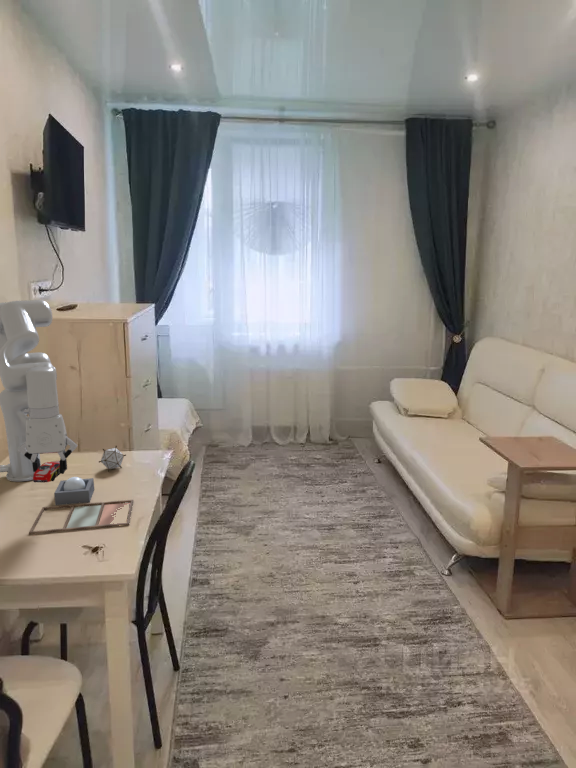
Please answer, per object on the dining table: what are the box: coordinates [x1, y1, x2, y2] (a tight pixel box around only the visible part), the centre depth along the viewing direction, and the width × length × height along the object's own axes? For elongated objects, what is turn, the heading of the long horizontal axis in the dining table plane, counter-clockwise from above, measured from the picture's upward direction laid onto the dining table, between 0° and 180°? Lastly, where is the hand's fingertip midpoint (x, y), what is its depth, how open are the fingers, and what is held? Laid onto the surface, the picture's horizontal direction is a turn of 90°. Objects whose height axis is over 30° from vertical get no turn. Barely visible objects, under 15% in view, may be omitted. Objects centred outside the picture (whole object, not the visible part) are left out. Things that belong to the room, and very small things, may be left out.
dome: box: [64, 476, 85, 491], centre depth 172 cm, size 6×6×6 cm
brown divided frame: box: [28, 499, 134, 535], centre depth 159 cm, size 26×16×1 cm, turn 101°
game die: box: [98, 445, 127, 473], centre depth 195 cm, size 9×8×10 cm
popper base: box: [53, 477, 95, 506], centre depth 172 cm, size 10×10×4 cm
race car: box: [32, 460, 67, 484], centre depth 154 cm, size 13×5×4 cm, turn 177°
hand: (50, 472), depth 155 cm, fingers closed on race car, 6 cm apart
